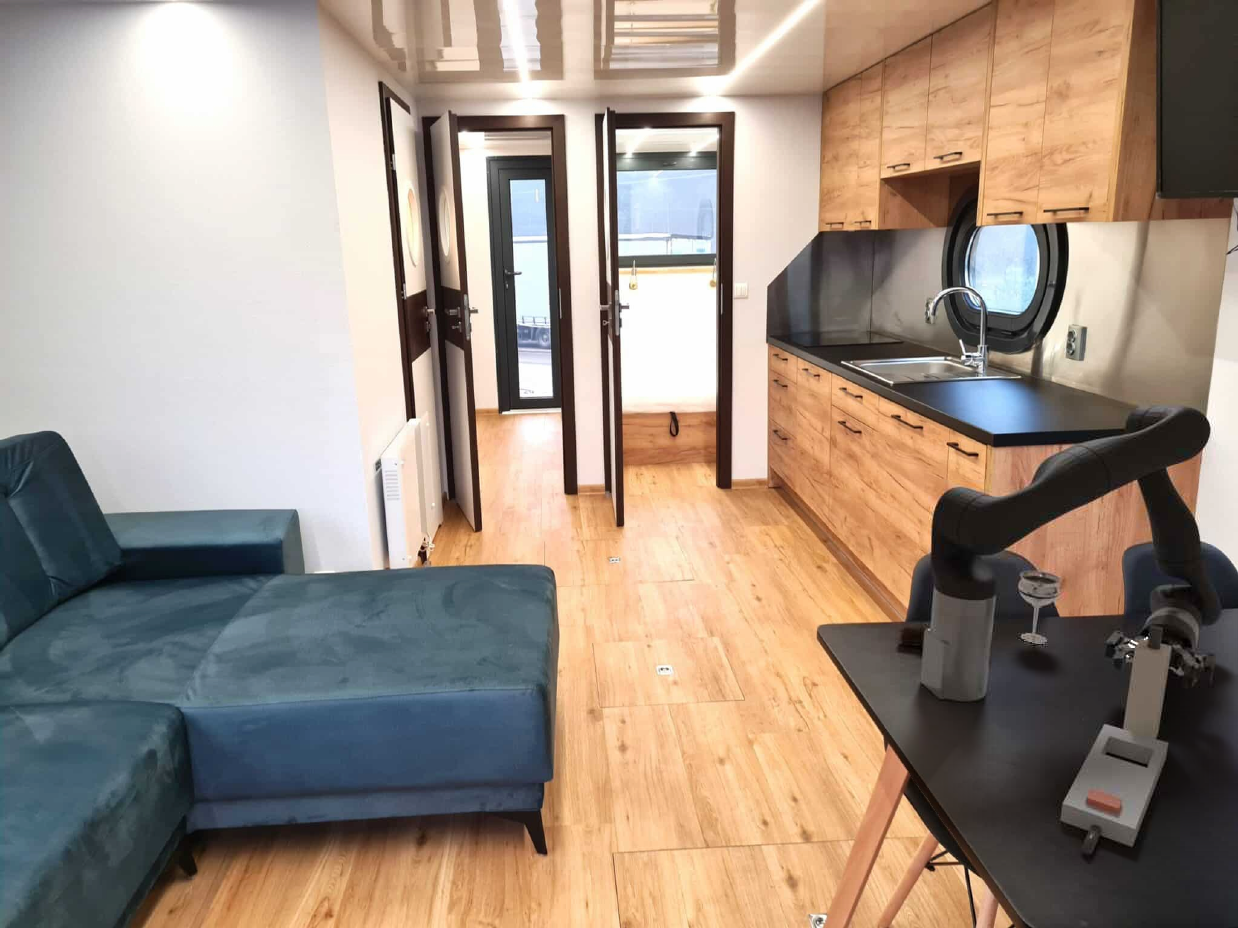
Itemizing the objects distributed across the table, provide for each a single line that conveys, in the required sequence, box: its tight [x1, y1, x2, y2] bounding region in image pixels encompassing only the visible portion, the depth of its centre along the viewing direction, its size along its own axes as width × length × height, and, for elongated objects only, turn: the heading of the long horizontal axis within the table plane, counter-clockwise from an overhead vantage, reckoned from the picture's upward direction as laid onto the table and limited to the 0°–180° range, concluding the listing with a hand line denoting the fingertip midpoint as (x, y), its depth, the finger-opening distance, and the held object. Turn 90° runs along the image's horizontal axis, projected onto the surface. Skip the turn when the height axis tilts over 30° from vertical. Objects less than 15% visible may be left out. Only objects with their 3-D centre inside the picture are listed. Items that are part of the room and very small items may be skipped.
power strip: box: [1059, 723, 1169, 856], centre depth 116 cm, size 29×8×3 cm, turn 141°
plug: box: [1122, 625, 1172, 739], centre depth 129 cm, size 4×4×17 cm
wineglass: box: [1017, 570, 1062, 645], centre depth 161 cm, size 7×7×12 cm
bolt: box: [899, 622, 993, 656], centre depth 158 cm, size 6×5×15 cm
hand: (1151, 673), depth 131 cm, fingers open, 8 cm apart
